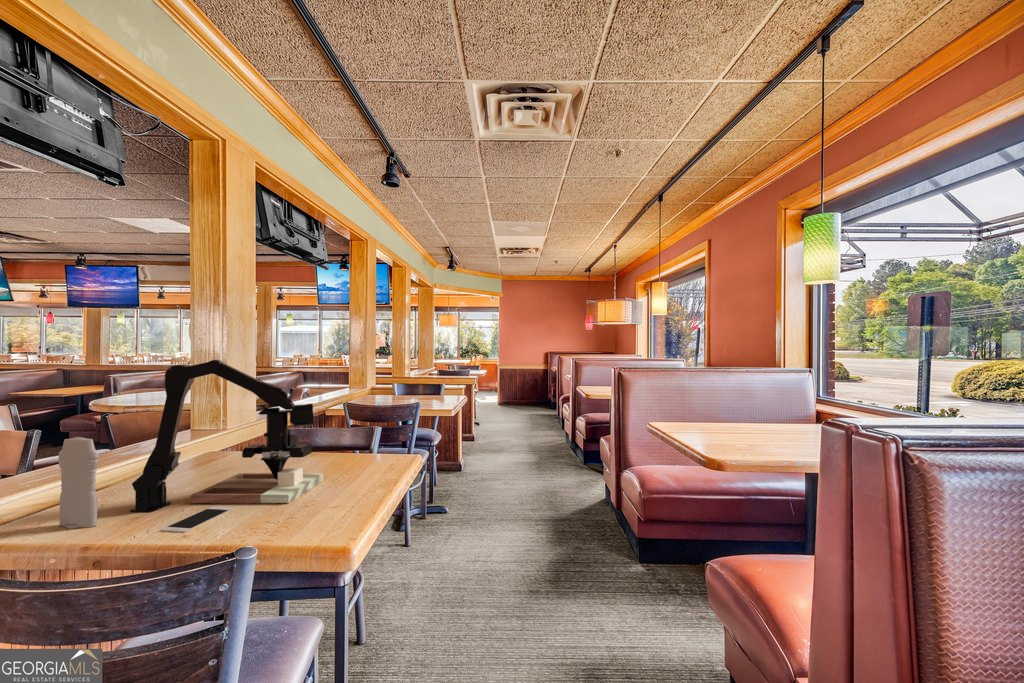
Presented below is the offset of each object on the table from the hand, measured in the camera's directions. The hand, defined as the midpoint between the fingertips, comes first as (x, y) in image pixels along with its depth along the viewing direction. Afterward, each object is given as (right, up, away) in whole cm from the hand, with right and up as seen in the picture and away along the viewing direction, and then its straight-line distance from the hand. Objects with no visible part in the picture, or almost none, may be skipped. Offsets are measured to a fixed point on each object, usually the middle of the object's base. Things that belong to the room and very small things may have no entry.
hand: (277, 479), depth 133 cm
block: (+4, -1, 0) cm, 4 cm away
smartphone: (-8, -4, -21) cm, 23 cm away
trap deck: (-5, -4, 0) cm, 6 cm away
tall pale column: (-36, -4, -25) cm, 44 cm away
